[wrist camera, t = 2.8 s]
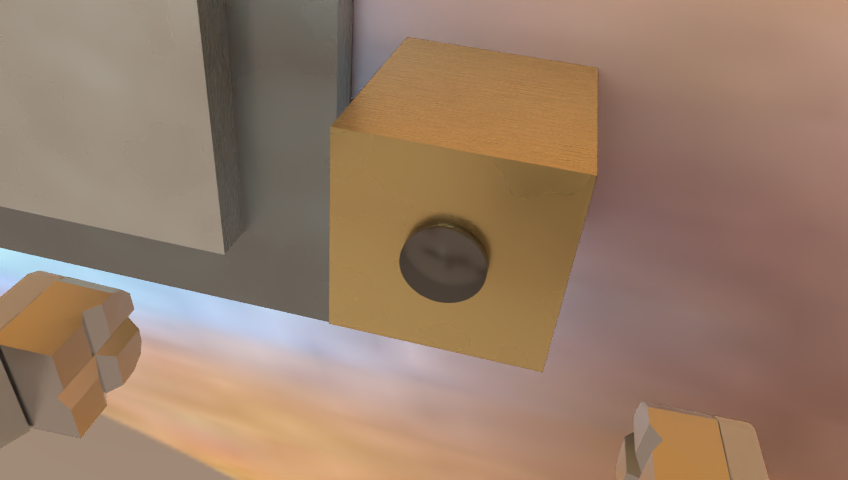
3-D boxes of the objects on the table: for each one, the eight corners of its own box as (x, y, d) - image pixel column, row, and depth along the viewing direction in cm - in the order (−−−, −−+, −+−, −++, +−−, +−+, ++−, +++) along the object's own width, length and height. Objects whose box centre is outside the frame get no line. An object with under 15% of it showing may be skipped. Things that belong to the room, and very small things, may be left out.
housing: (597, 67, 16) (597, 183, 11) (557, 229, 19) (541, 382, 14) (407, 36, 17) (324, 132, 12) (395, 198, 20) (324, 332, 15)
